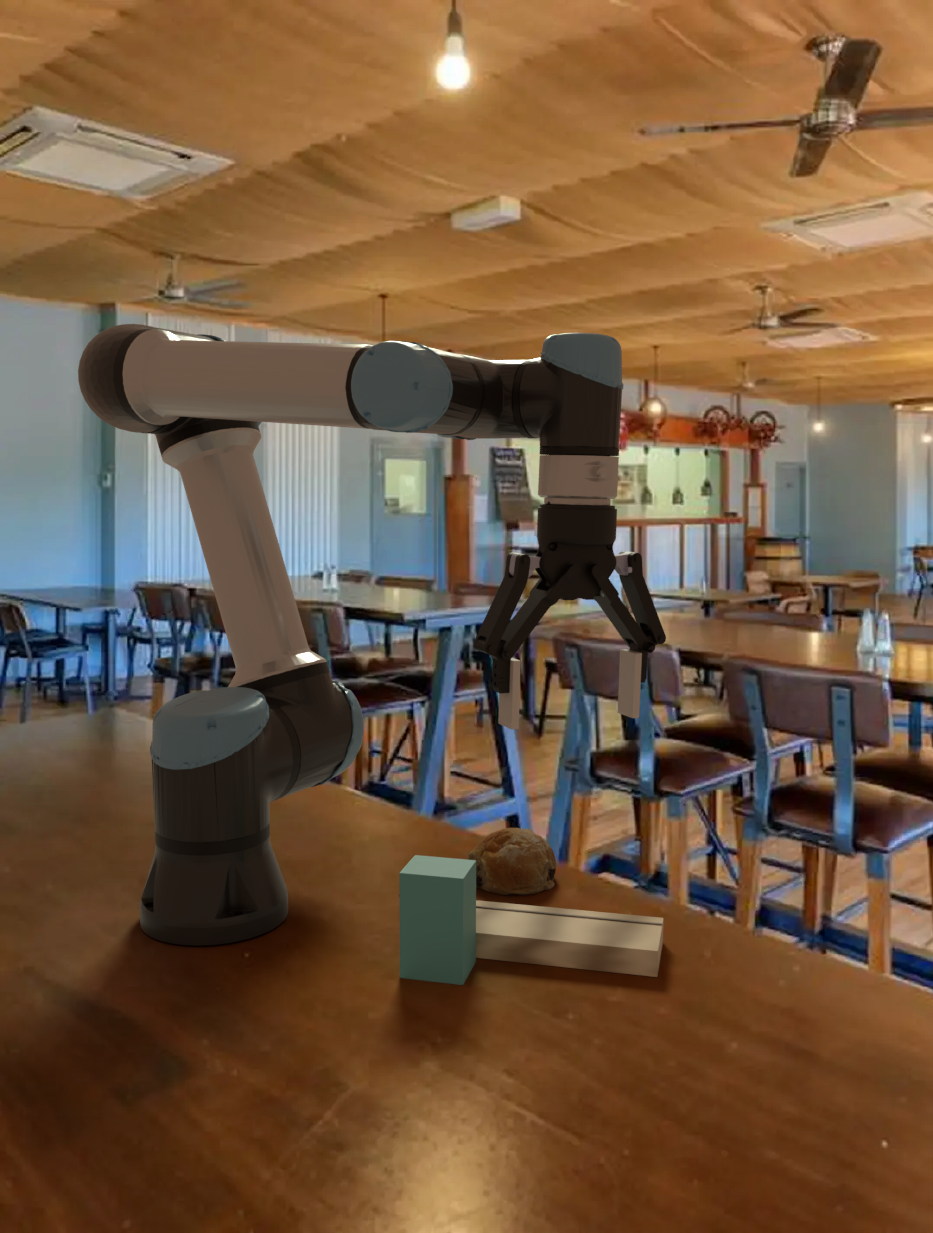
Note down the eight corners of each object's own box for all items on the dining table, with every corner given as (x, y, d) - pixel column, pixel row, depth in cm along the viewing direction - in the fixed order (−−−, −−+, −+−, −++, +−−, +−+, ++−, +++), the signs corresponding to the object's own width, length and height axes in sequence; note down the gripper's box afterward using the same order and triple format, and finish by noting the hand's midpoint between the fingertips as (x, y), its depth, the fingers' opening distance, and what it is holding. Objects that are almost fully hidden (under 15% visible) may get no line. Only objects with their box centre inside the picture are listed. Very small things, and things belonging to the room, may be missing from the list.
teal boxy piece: (399, 977, 99) (399, 872, 98) (437, 923, 112) (437, 829, 111) (463, 984, 98) (463, 878, 97) (493, 929, 110) (494, 834, 109)
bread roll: (532, 931, 119) (564, 870, 117) (450, 886, 120) (480, 825, 119) (544, 898, 129) (573, 841, 127) (467, 857, 130) (496, 800, 128)
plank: (417, 951, 105) (417, 925, 105) (439, 919, 113) (439, 895, 112) (657, 976, 99) (657, 949, 99) (662, 941, 107) (663, 916, 107)
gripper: (477, 501, 94) (472, 740, 97) (708, 504, 105) (697, 718, 107) (441, 499, 101) (437, 722, 103) (661, 502, 111) (652, 703, 114)
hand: (570, 721), depth 105 cm, fingers open, 13 cm apart
